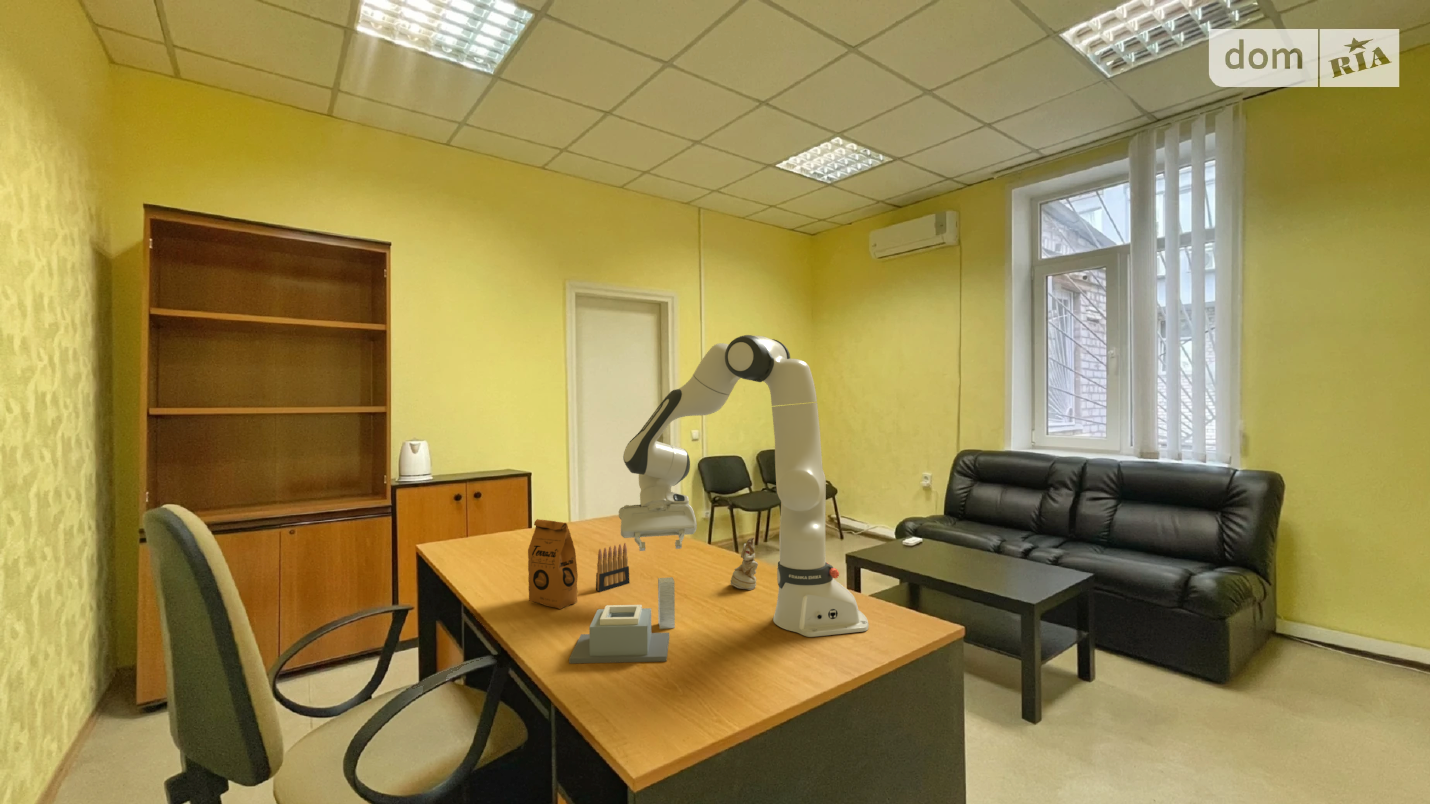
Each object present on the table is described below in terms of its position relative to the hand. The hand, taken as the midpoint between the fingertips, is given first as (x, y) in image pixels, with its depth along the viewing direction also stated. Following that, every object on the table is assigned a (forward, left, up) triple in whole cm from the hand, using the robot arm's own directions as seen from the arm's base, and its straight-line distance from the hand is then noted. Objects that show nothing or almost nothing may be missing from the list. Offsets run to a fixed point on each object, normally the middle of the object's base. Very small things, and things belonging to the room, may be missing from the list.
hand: (660, 548), depth 147 cm
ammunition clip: (+15, -18, -16) cm, 28 cm away
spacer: (+7, +24, -9) cm, 26 cm away
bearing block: (+7, +24, -16) cm, 29 cm away
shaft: (-2, +11, -16) cm, 19 cm away
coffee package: (+29, -6, -16) cm, 34 cm away
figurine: (-23, -16, -16) cm, 32 cm away
